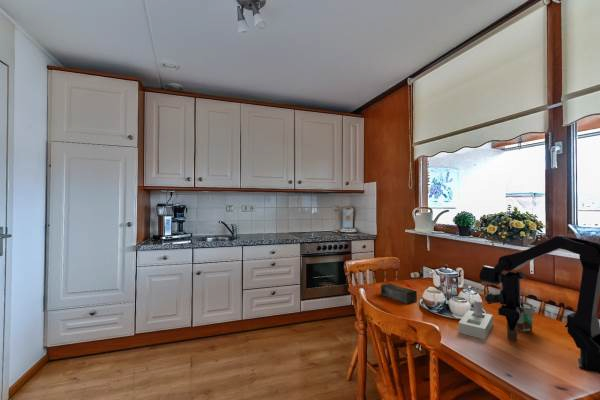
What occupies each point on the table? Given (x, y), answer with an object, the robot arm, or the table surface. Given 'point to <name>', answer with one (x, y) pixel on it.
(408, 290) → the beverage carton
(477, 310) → the grey peg
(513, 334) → the walnut peg
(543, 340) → the table surface
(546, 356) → the table surface
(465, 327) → the hole block
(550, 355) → the table surface
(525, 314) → the food container
